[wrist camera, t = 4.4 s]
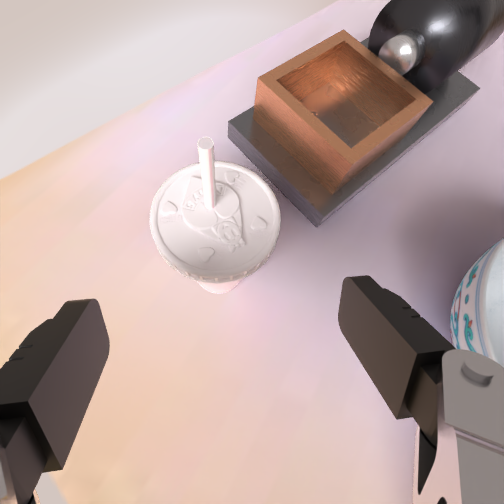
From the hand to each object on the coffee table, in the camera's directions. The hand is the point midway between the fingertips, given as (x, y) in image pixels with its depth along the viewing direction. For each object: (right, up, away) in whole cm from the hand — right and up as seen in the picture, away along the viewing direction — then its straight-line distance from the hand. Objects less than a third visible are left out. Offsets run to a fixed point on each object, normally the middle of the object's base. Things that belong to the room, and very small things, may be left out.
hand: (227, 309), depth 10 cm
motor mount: (+11, +15, +20) cm, 28 cm away
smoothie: (-2, 0, +13) cm, 14 cm away
